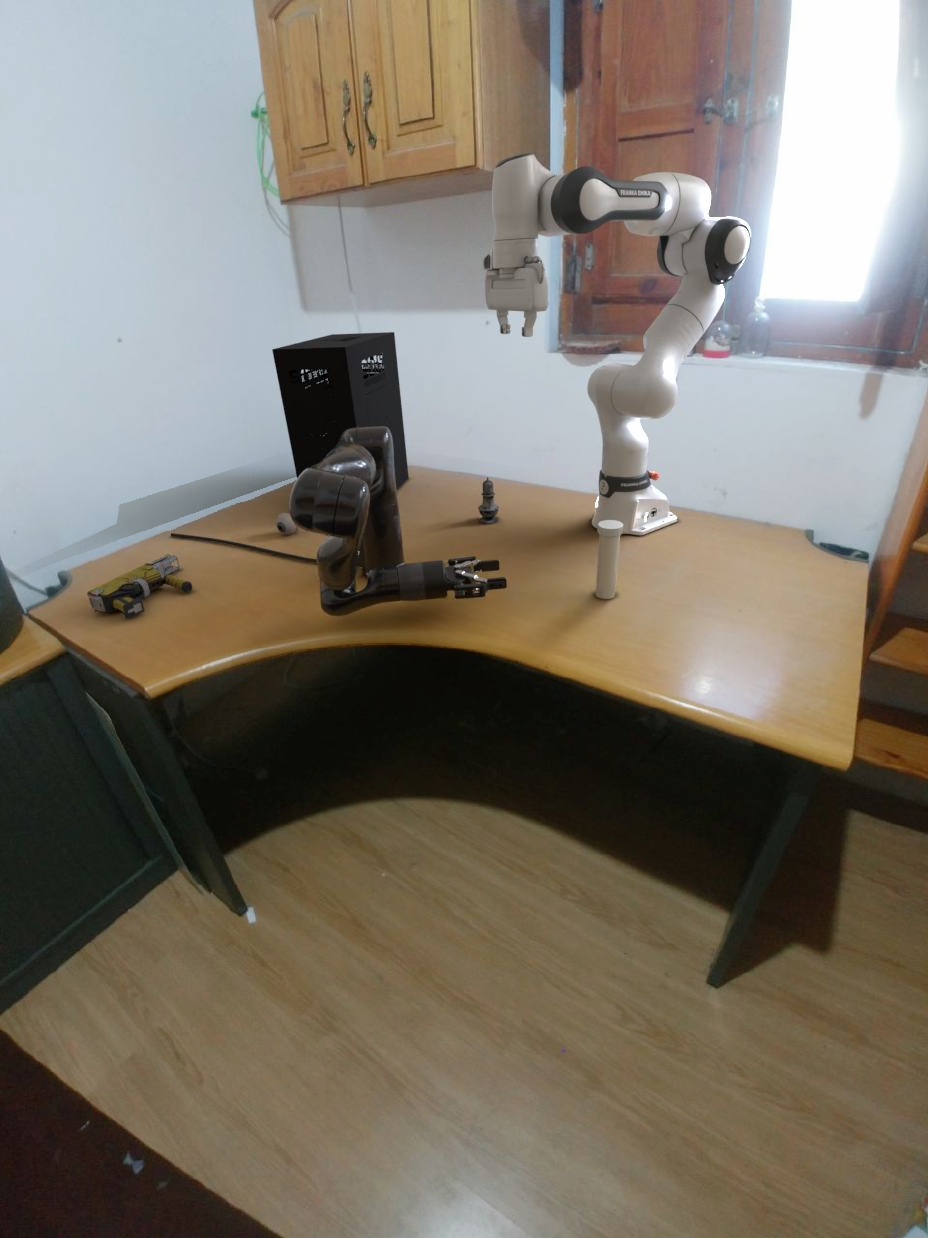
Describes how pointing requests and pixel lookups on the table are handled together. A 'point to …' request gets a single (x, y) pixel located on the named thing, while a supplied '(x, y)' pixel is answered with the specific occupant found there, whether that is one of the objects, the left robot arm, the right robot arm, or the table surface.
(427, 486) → the table surface
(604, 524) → the lid
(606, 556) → the bottle
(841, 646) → the table surface
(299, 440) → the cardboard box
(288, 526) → the eyeball
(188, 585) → the toy gun
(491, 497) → the grey chess piece
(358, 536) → the left robot arm
